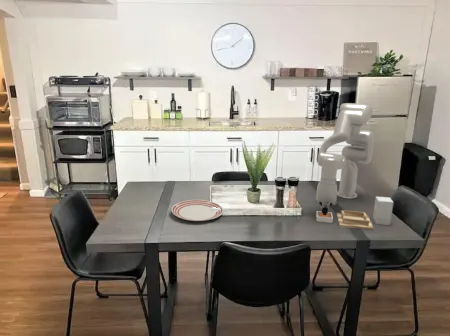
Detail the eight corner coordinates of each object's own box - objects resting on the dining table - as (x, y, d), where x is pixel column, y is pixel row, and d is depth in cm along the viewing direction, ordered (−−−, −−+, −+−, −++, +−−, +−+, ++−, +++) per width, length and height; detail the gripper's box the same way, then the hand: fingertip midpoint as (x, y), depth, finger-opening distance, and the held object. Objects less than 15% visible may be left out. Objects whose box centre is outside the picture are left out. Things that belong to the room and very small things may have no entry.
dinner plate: (233, 214, 194) (234, 208, 193) (196, 230, 174) (196, 223, 173) (198, 201, 212) (198, 196, 211) (160, 214, 192) (160, 208, 191)
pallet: (336, 214, 196) (337, 208, 195) (367, 217, 193) (368, 211, 192) (339, 226, 181) (340, 220, 180) (373, 230, 178) (374, 223, 177)
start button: (319, 215, 193) (319, 211, 192) (328, 216, 192) (329, 212, 191) (319, 219, 188) (319, 215, 187) (329, 220, 187) (329, 216, 186)
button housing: (315, 215, 195) (316, 210, 194) (331, 216, 193) (331, 212, 192) (316, 221, 187) (317, 216, 186) (332, 223, 186) (333, 218, 185)
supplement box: (390, 225, 184) (393, 202, 181) (374, 224, 186) (378, 200, 182) (387, 219, 191) (390, 197, 188) (372, 218, 193) (375, 196, 189)
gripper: (342, 179, 186) (338, 213, 191) (312, 177, 189) (309, 210, 194) (344, 184, 179) (340, 218, 184) (313, 181, 182) (309, 215, 187)
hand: (324, 214), depth 189 cm, fingers closed
